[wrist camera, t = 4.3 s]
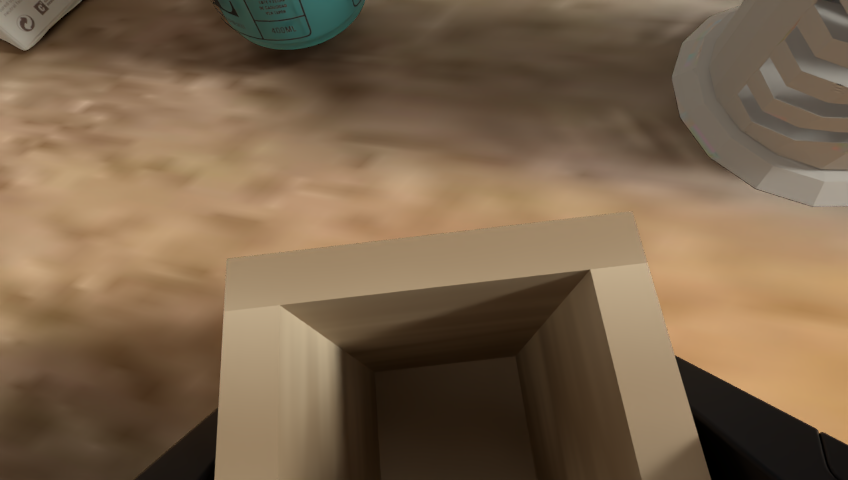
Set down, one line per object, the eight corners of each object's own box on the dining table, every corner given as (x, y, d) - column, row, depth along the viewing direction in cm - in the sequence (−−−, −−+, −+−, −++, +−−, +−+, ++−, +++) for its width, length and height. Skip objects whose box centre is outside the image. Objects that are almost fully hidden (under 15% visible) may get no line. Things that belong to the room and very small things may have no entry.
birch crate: (571, 542, 14) (792, 756, 5) (362, 564, 14) (195, 814, 5) (532, 332, 16) (632, 211, 7) (352, 352, 16) (226, 258, 7)
